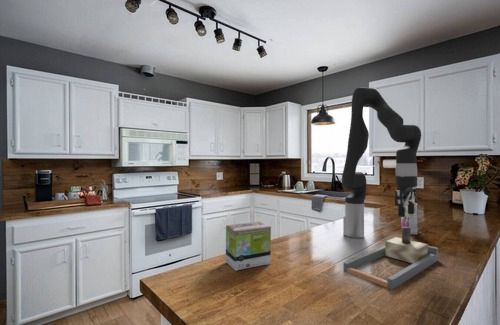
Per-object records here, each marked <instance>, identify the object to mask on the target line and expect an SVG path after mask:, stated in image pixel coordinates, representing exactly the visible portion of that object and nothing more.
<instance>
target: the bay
mask: <svg viewBox="0 0 500 325" xmlns="http://www.w3.org/2000/svg"><path fill="white" fill-rule="evenodd" d="M384 256H386V244H384V245H382V246H381V247H377V248H376V249H373V250H371V251H369V252H366V253H363V254H361V255H358V256H355V257H354V258H351V259H348V260H346V261H344V262H343V263H342V264H343V265H342V266H343V267H342V268H343V272H345V273H347V274H351V275H353V276H356V277H359V278H360V279H363V280H367V281H369V282H372V283H373V284H377V285H379V286H381V287H385V288H386V289H389V290H394V289H396V288H397V287H399V286H400V285H402V284H403V283H405V282H407V281H408V280H410V279H411V278H413V277H414V276H417V275H418V274H420V273H421V272H422V271H424V270H426V269H427V268H429V267H431V266H432V265H433V264H435V263H437V262H439V247H436V246H433V245H432V246H431V245H428V255H427V256H426V257H424V258H422V259H420V260H419V261H417V262H415V263H413V264H412V263H411V264H410V265H408V266H407V267H405V268H402V269H401V270H400V271H398V272H396V273H394V274H392V275H390V276H389V277H387V280H386V279H383V278H381V277H377V276H375V275H372V274H370V273H367V272H364V271H361V270H359V269H357V268H360V267H362V266H365V265H367V264H368V263H370V262H373V261H375V260H377V259H379V258H381V257H384Z"/></svg>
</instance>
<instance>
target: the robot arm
mask: <svg viewBox="0 0 500 325" xmlns="http://www.w3.org/2000/svg"><path fill="white" fill-rule="evenodd" d="M364 108H371V109H373V110H375V112H376V116H377V119H378V121H379V122H380V123H381V125H383V127H385V128H386V130H387V132H388V135H389V136H390V138H391V139H392V140H393V141H395V142H396V143H404V146H403V148H399V149H397V150H396V152H395V160H396V161H395V186H396V187H398V188H399V190H397V189H395V191H394V192H395V193H394V206H396V207H397V208H398V209H397V212H398V213H397V215H398V217H400V218H401V217H405V208H404V207H405V205H406V203H408V213H409V214H414V205H415V203H416V204H418V189H417V187H418V165H417V153H418V149H419V146H420V144H421V143H420V142H421V139H422V131H421V128H420V127H419V126H418V125H415V124H404V118H403V116H401V115H400V114H399V113H397V111H396V110H394V109H393V108H392V107H391V106H390V105H389V104H388V103H387V102H386V100H385V98H383V96H382V95H381V93H380V92H379V91H378V90H377V89H376V88H373V87H364V86H359V87H356V88H355V89H354V91H353V93H352V98H351V116H350V126H349V132H348V134H349V135H348V140H347V141H348V142H347V150H346V156H345V161H344V162H345V163H344V166H343V171H342V175H341V185H342V188H344V190H347V191H351V192H350V193H349V194H348V195H346V196H345V198H344V216H343V217H342V218H343V220H342V221H343V226H342V227H343V229H342V230H343V233H342V234H343V235H344V236H346V237H348V238H352V239H361V238H364V237H365V199H366V197H367V177H366V175H365V173H364V172H362V171H357V166H358V164H359V162H360V159H361V158H362V157H363V156H364V153H366V151H367V148H368V145H369V139H370V134H369V129H368V128H367V127H368V126H367V125H366V123H365V120H364V115H363V114H364V113H363V112H364Z"/></svg>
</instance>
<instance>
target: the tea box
mask: <svg viewBox="0 0 500 325" xmlns="http://www.w3.org/2000/svg"><path fill="white" fill-rule="evenodd" d="M271 236H272V227H271V226H270V225H268V224H265V223H263V222H261V221H254V222H253V221H252V222H245V223H234V224H227V225H225V263H226V264H227V265H229V266H230V267H231V268H232V269H233V270H234V271H235V272H236V271H240V270H244V269H250V268H255V267H256V268H257V267H259V266H260V267H261V266H267V265H270V264H271V255H272V254H271V252H272V251H271V249H272V246H271V245H272V244H271V242H272V239H271V238H272V237H271Z"/></svg>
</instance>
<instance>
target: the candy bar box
mask: <svg viewBox="0 0 500 325" xmlns="http://www.w3.org/2000/svg"><path fill="white" fill-rule="evenodd" d="M418 207H419V204H418V203H415V205H414V214H409V213H408V203H406V205H405V207H404V208H405V217H400V230H402V227H409V228H411V235H415V236H417V235H419V208H418Z"/></svg>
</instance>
